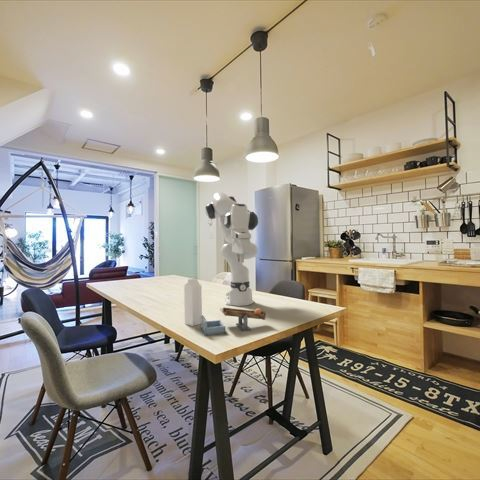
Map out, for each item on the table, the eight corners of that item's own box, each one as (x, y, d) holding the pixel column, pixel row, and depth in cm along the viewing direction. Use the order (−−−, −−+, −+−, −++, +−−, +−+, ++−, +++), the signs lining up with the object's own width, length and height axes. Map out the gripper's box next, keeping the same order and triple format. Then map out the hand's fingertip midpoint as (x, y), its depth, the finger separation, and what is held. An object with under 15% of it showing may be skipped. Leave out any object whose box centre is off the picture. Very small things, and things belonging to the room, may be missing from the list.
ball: (252, 314, 130) (253, 307, 130) (259, 315, 131) (260, 307, 131) (255, 316, 126) (256, 309, 126) (262, 317, 127) (263, 309, 127)
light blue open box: (201, 328, 126) (201, 315, 126) (220, 326, 128) (220, 313, 128) (204, 335, 116) (204, 321, 116) (225, 333, 119) (225, 319, 119)
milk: (202, 323, 134) (201, 278, 134) (192, 326, 129) (192, 279, 129) (193, 321, 138) (193, 277, 138) (184, 323, 133) (184, 278, 133)
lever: (255, 315, 138) (257, 306, 138) (264, 322, 126) (266, 312, 126) (219, 311, 132) (220, 302, 132) (225, 318, 121) (227, 308, 121)
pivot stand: (243, 323, 132) (243, 310, 132) (250, 330, 122) (250, 315, 122) (235, 324, 131) (235, 310, 131) (242, 331, 121) (241, 316, 121)
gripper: (228, 235, 148) (229, 261, 148) (239, 234, 128) (240, 264, 128) (239, 235, 150) (240, 260, 150) (252, 234, 130) (252, 263, 130)
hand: (240, 262), depth 139 cm, fingers open, 3 cm apart
